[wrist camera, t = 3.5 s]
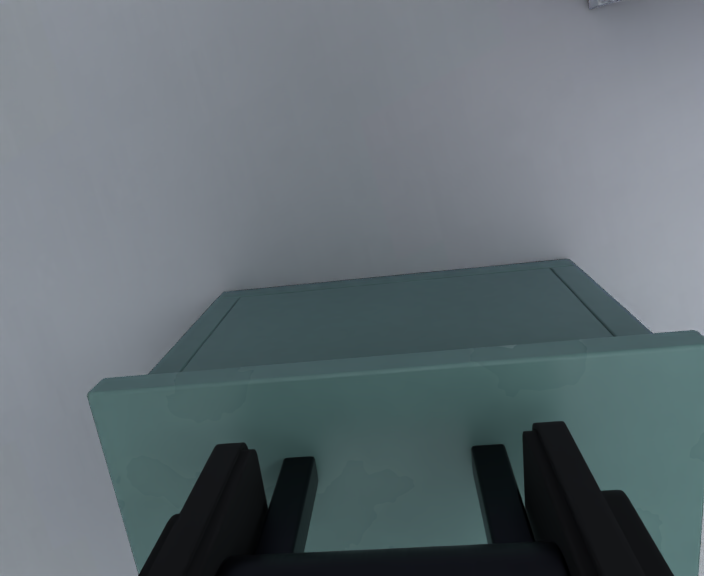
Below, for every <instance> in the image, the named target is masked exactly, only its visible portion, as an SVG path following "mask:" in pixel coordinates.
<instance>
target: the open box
mask: <svg viewBox="0 0 704 576" xmlns="http://www.w3.org/2000/svg"><path fill="white" fill-rule="evenodd" d="M641 334H653V333H652V332H651V331H650V330H649V329H647V328H646V327H645V326H644V325H643V324H642V323H641V322H640V321H638V320H637V319H636V318H635V317H634V316H633V315H632V314H631V313H630V312H628V311H627V310H626V309H625V308H624V307H623V306H622V305H621V304H620V303H618V302H617V301H616V300H615V299H614V298H613V297H612V296H611V295H609V294H608V293H607V292H606V291H605V290H604V289H603V288H602V287H601V286H599V285H598V284H597V283H596V282H595V281H594V280H593V279H592V278H591V277H589V276H588V275H587V274H586V273H585V272H584V271H583V270H582V269H580V268H579V267H578V266H576V264H575V263H573V262H572V261H571V260H570V259H562V260H551V261H541V262H531V263H520V264H510V265H499V266H489V267H479V268H468V269H458V270H447V271H437V272H426V273H416V274H406V275H395V276H385V277H374V278H364V279H354V280H343V281H333V282H322V283H312V284H302V285H291V286H281V287H270V288H260V289H249V290H239V291H229V292H223V293H222V294H221V295H220V296H219V297H218V298H217V300H215V301H214V302H213V304H212V305H211V306H210V307H209V308H208V309H207V310H206V311H205V312H204V313H203V314H202V316H201V317H200V318H199V319H198V320H197V321H196V322H195V323H194V324H193V325H192V327H191V328H190V329H189V330H188V331H187V332H186V333H185V334H184V335H183V336H182V337H181V339H180V340H179V341H178V342H177V343H176V344H175V345H174V346H173V347H172V348H171V350H170V351H169V352H168V353H167V354H166V355H165V356H164V357H163V358H162V359H161V361H160V362H159V363H158V364H157V365H156V366H155V367H154V368H153V369H152V370H151V371H150V373H149V374H148V375H150V374H163V373H175V372H187V371H199V370H212V369H224V368H236V367H248V366H261V365H273V364H285V363H297V362H310V361H322V360H334V359H347V358H359V357H371V356H383V355H396V354H408V353H420V352H432V351H445V350H457V349H469V348H481V347H494V346H506V345H518V344H530V343H543V342H555V341H567V340H580V339H592V338H604V337H616V336H629V335H641Z"/></svg>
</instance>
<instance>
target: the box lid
mask: <svg viewBox="0 0 704 576" xmlns="http://www.w3.org/2000/svg"><path fill="white" fill-rule="evenodd" d="M87 397H88V401H89V404H90V408H91V411H92V415H93V418H94V422H95V425H96V428H97V432H98V435H99V439H100V442H101V446H102V449H103V453H104V456H105V460H106V463H107V467H108V470H109V473H110V477H111V480H112V484H113V487H114V491H115V494H116V498H117V501H118V505H119V508H120V512H121V515H122V518H123V522H124V525H125V529H126V532H127V536H128V539H129V543H130V546H131V550H132V553H133V557H134V560H135V563H136V567H137V570H138V574H139V573H140V571H141V570H142V568H143V566H144V564H145V562H146V560H147V559H148V557H149V555H150V553H151V551H152V549H153V548H154V546H155V544H156V542H157V540H158V538H159V537H160V535H161V533H162V531H163V529H164V527H165V525H166V524H167V522H168V520H169V519H170V518H171V516H173V515H175V514H180V512H181V510H182V508H183V506H184V504H185V502H186V500H187V498H188V496H189V494H190V493H191V491H192V489H193V487H194V485H195V483H196V481H197V479H198V477H199V475H200V474H201V472H202V470H203V468H204V466H205V464H206V462H207V460H208V458H209V456H210V455H211V453H212V451H213V449H214V447H215V446H216V445H217V444H226V443H241V442H244V443H246V445H247V447H248V449H255V450H256V452H257V455H258V460H259V465H260V470H261V475H262V480H263V485H264V490H265V495H266V500H267V505H268V511H267V514H266V517H265V520H264V524H263V527H262V530H261V533H260V536H259V540H258V543H257V546H256V549H255V552H254V555H236V556H231V557H229V558H227V559H226V560H225V561H224V562H223V563H222V564H221V566H220V567H219V569H218V571H217V573H216V575H215V576H571V575H570V572H569V569H568V566H567V564H566V561H565V559H564V556H563V554H562V552H561V550H560V549H559V547H558V546H557V544H555V543H554V542H551V541H541V542H536V541H535V538H534V535H533V532H532V529H531V526H530V523H529V519H528V516H527V513H526V510H525V494H524V468H523V442H522V434H523V431H532V425H533V423H538V422H553V421H564V422H565V424H566V426H567V427H568V429H569V431H570V433H571V435H572V437H573V439H574V441H575V443H576V445H577V446H578V448H579V450H580V452H581V454H582V456H583V458H584V460H585V462H586V463H587V465H588V467H589V469H590V471H591V473H592V475H593V477H594V479H595V481H596V482H597V484H598V486H599V488H600V490H601V491H603V490H622V491H624V492H625V494H626V495H627V497H628V498H629V500H630V501H631V503H632V505H633V506H634V508H635V510H636V512H637V513H638V515H639V517H640V518H641V520H642V522H643V523H644V525H645V527H646V529H647V530H648V532H649V534H650V535H651V537H652V539H653V540H654V542H655V544H656V546H657V547H658V549H659V551H660V552H661V554H662V556H663V557H664V559H665V561H666V563H667V564H668V566H669V568H670V569H671V571H672V573H673V574H674V576H698V572H699V558H700V544H701V530H702V516H703V503H704V336H703V335H701V334H700V333H699V332H697V331H694V330H690V331H678V332H665V333H653V334H641V335H629V336H616V337H604V338H592V339H580V340H567V341H555V342H543V343H530V344H518V345H506V346H494V347H481V348H469V349H457V350H445V351H432V352H420V353H408V354H396V355H383V356H371V357H359V358H347V359H334V360H322V361H310V362H297V363H285V364H273V365H261V366H248V367H236V368H224V369H212V370H199V371H187V372H175V373H163V374H150V375H138V376H126V377H114V378H104V379H102V380H101V381H100V382H99V383H98V384H97V385H96V386H95V387H94V388H93V389H92V390H91V391H89V392H88V395H87Z"/></svg>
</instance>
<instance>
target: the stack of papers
mask: <svg viewBox="0 0 704 576" xmlns="http://www.w3.org/2000/svg"><path fill="white" fill-rule="evenodd" d="M617 1H621V0H588V2H589V9H593V8H596V7H600V6H603V5H607V4H610V3H614V2H617Z"/></svg>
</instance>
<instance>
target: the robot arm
mask: <svg viewBox="0 0 704 576" xmlns="http://www.w3.org/2000/svg"><path fill="white" fill-rule="evenodd" d="M522 442H523V468H524V494H525V510H526V513H527V516H528V519H529V523H530V526H531V529H532V532H533V535H534V538H535V541H536V542H541V541H551V542H554V543H555V544H557V546H558V547H559V549H560V550H561V552H562V554H563V556H564V559H565V561H566V564H567V566H568V569H569V572H570V575H571V576H674V574H673V573H672V571H671V569H670V568H669V566H668V564H667V563H666V561H665V559H664V557H663V556H662V554H661V552H660V551H659V549H658V547H657V546H656V544H655V542H654V540H653V539H652V537H651V535H650V534H649V532H648V530H647V529H646V527H645V525H644V523H643V522H642V520H641V518H640V517H639V515H638V513H637V512H636V510H635V508H634V506H633V505H632V503H631V501H630V500H629V498H628V497H627V495H626V494H625V492H624V491H622V490H603V491H601V490H600V488H599V486H598V484H597V482H596V481H595V479H594V477H593V475H592V473H591V471H590V469H589V467H588V465H587V463H586V462H585V460H584V458H583V456H582V454H581V452H580V450H579V448H578V446H577V445H576V443H575V441H574V439H573V437H572V435H571V433H570V431H569V429H568V427H567V426H566V424H565V422H564V421H553V422H538V423H533V425H532V431H523V434H522ZM267 511H268V505H267V500H266V495H265V490H264V485H263V480H262V475H261V470H260V465H259V460H258V455H257V452H256V450H255V449H248V447H247V445H246V443H244V442H241V443H226V444H217V445H216V446H215V447H214V449H213V451H212V453H211V455H210V456H209V458H208V460H207V462H206V464H205V466H204V468H203V470H202V472H201V474H200V475H199V477H198V479H197V481H196V483H195V485H194V487H193V489H192V491H191V493H190V494H189V496H188V498H187V500H186V502H185V504H184V506H183V508H182V510H181V512H180V514H175V515H173V516H171V518H170V519H169V520H168V522H167V524H166V525H165V527H164V529H163V531H162V533H161V535H160V537H159V538H158V540H157V542H156V544H155V546H154V548H153V549H152V551H151V553H150V555H149V557H148V559H147V560H146V562H145V564H144V566H143V568H142V570H141V571H140V573H139V575H138V576H215V575H216V573H217V571H218V569H219V567H220V566H221V564H222V563H223V562H224V561H225V560H226V559H227V558H229V557H231V556H236V555H254V552H255V549H256V546H257V543H258V540H259V536H260V533H261V530H262V527H263V524H264V520H265V517H266V514H267Z"/></svg>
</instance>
